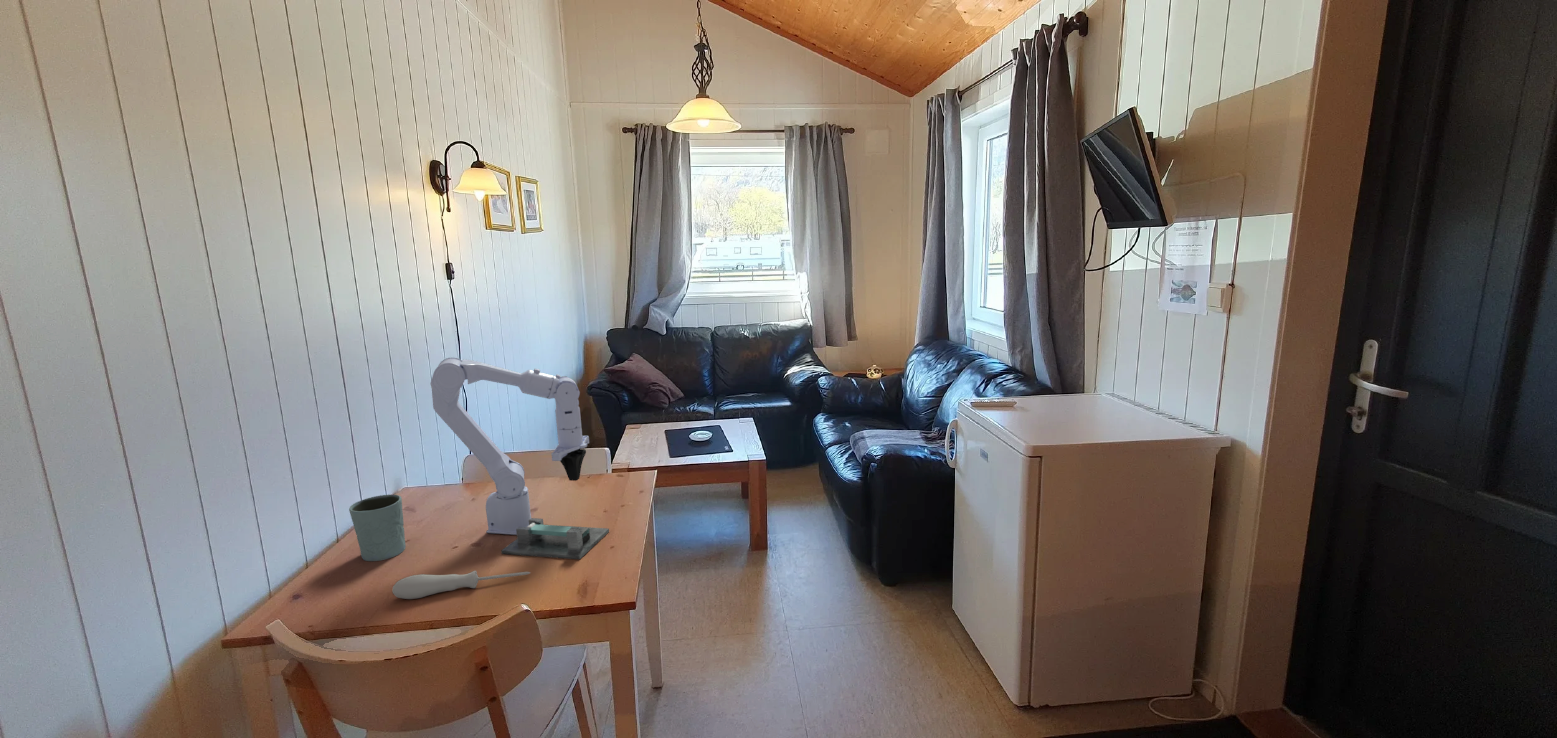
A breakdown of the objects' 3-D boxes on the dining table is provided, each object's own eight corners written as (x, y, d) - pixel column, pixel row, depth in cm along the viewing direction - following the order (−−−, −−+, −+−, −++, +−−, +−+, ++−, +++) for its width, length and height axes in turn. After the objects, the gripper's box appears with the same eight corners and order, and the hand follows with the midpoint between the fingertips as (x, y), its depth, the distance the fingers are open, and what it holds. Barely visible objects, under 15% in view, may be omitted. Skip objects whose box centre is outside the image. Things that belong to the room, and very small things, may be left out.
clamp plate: (501, 553, 143) (498, 530, 142) (537, 527, 156) (534, 505, 155) (579, 559, 139) (577, 535, 138) (609, 531, 152) (607, 509, 151)
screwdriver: (531, 588, 131) (529, 571, 129) (391, 606, 123) (388, 589, 122) (532, 573, 135) (530, 556, 133) (397, 589, 127) (394, 572, 126)
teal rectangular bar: (523, 534, 147) (523, 527, 147) (531, 528, 150) (530, 522, 150) (582, 539, 144) (582, 532, 144) (589, 533, 147) (589, 526, 147)
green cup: (381, 565, 139) (372, 513, 137) (345, 560, 142) (337, 509, 140) (419, 544, 149) (412, 495, 146) (385, 540, 152) (378, 492, 149)
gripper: (568, 435, 149) (574, 491, 152) (598, 419, 163) (602, 470, 166) (541, 434, 151) (547, 489, 153) (572, 418, 165) (577, 469, 167)
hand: (574, 479), depth 159 cm, fingers closed
